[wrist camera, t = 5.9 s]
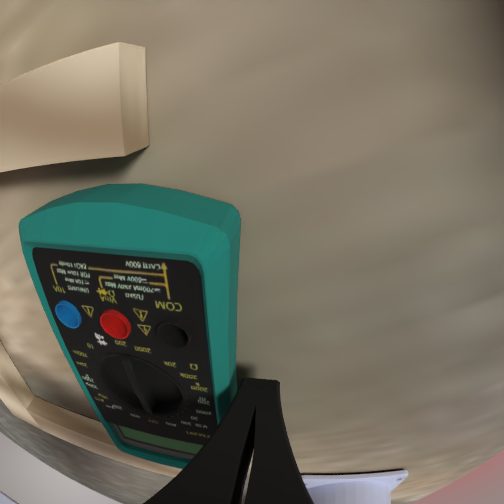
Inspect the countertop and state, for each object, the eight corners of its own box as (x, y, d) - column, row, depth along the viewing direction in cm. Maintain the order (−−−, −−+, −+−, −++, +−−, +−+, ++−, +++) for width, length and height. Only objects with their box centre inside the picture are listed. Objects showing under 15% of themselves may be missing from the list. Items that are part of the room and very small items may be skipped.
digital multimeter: (245, 180, 9) (223, 217, 7) (244, 441, 16) (237, 484, 14) (52, 182, 10) (-2, 211, 7) (129, 418, 17) (113, 454, 14)
